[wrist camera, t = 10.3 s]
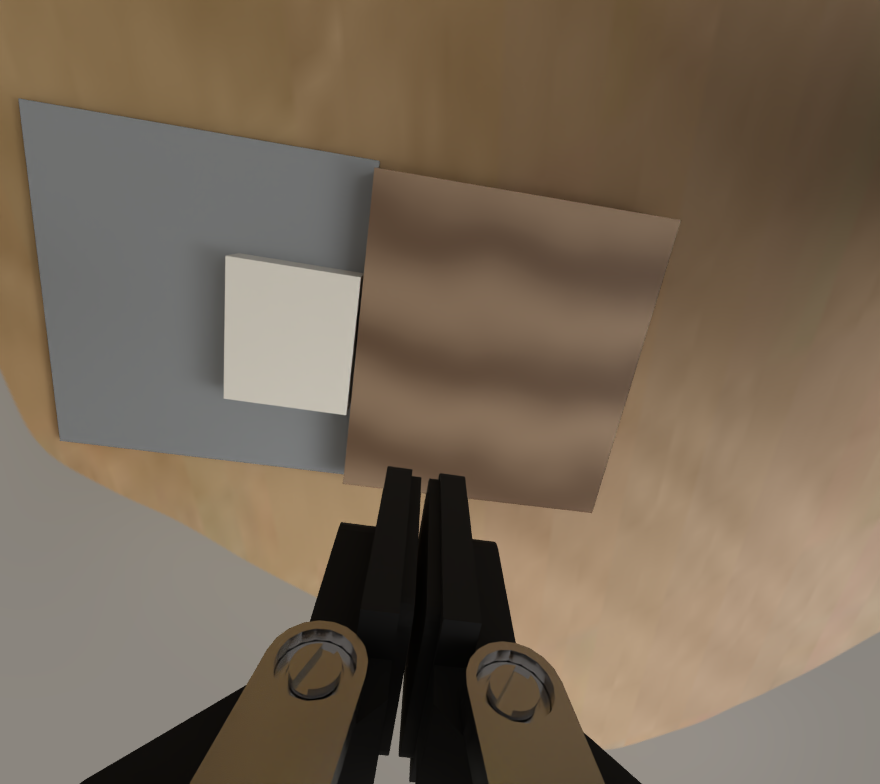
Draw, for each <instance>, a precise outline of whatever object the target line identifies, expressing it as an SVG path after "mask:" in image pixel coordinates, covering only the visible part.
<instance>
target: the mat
mask: <svg viewBox="0 0 880 784" xmlns="http://www.w3.org/2000/svg"><path fill="white" fill-rule="evenodd" d="M18 99H19V98H18ZM19 107H20V115H21V124H22V132H23V140H24V148H25V156H26V165H27V173H28V181H29V189H30V198H31V206H32V214H33V222H34V230H35V239H36V247H37V255H38V263H39V272H40V280H41V288H42V296H43V304H44V313H45V321H46V329H47V337H48V346H49V354H50V362H51V370H52V378H53V387H54V395H55V403H56V411H57V420H58V428H59V436H60V441H67V442H75V443H84V444H92V445H101V446H109V447H118V448H126V449H135V450H143V451H151V452H160V453H168V454H177V455H185V456H194V457H202V458H210V459H219V460H227V461H236V462H244V463H253V464H261V465H270V466H278V467H286V468H295V469H303V470H312V471H320V472H329V473H337V474H344V469H345V458H346V448H347V438H348V428H349V418H350V408H351V404H350V407H349V409H348V412H347V414H346V415H340V414H333V413H326V412H318V411H311V410H304V409H296V408H289V407H282V406H274V405H267V404H260V403H252V402H245V401H238V400H230V399H224V330H225V256H227V255H232V254H237V253H242V254H248V255H254V256H260V257H267V258H273V259H279V260H285V261H291V262H298V263H304V264H310V265H316V266H322V267H328V268H335V269H341V270H347V271H353V272H359V273H364V267H365V257H366V247H367V237H368V227H369V217H370V207H371V197H372V187H373V177H374V167H375V168H379V165H380V161H377V160H371V159H365V158H360V157H354V156H348V155H342V154H336V153H331V152H325V151H319V150H313V149H308V148H302V147H296V146H290V145H284V144H279V143H273V142H267V141H261V140H256V139H250V138H244V137H238V136H233V135H227V134H221V133H215V132H209V131H204V130H198V129H192V128H186V127H181V126H175V125H169V124H163V123H157V122H152V121H146V120H140V119H134V118H129V117H123V116H117V115H111V114H105V113H100V112H94V111H88V110H82V109H77V108H71V107H65V106H59V105H54V104H48V103H42V102H36V101H30V100H25V99H19Z"/></svg>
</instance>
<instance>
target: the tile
mask: <svg viewBox="0 0 880 784" xmlns="http://www.w3.org/2000/svg"><path fill="white" fill-rule="evenodd" d="M363 277H364V273H359V272H353V271H347V270H341V269H335V268H328V267H322V266H316V265H310V264H304V263H298V262H291V261H285V260H279V259H273V258H267V257H260V256H254V255H248V254H242V253H237V254H232V255H227V256H225V330H224V399H230V400H238V401H245V402H252V403H260V404H267V405H274V406H282V407H289V408H296V409H304V410H311V411H318V412H326V413H333V414H340V415H346V414H347V412H348V409H349V407H350V404H351V398H352V388H353V378H354V368H355V358H356V348H357V338H358V328H359V317H360V307H361V297H362V287H363Z"/></svg>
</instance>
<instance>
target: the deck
mask: <svg viewBox="0 0 880 784" xmlns="http://www.w3.org/2000/svg"><path fill="white" fill-rule="evenodd" d="M680 223H681V220H678V219H672V218H666V217H660V216H655V215H649V214H643V213H637V212H631V211H625V210H620V209H614V208H608V207H602V206H596V205H591V204H585V203H579V202H573V201H567V200H561V199H556V198H550V197H544V196H538V195H532V194H527V193H521V192H515V191H509V190H503V189H497V188H492V187H486V186H480V185H474V184H468V183H463V182H457V181H451V180H445V179H439V178H434V177H428V176H422V175H416V174H410V173H404V172H399V171H393V170H387V169H381V168H375V167H374V177H373V187H372V197H371V207H370V217H369V227H368V237H367V247H366V257H365V267H364V277H363V287H362V297H361V307H360V317H359V328H358V338H357V348H356V358H355V368H354V378H353V388H352V398H351V408H350V418H349V428H348V438H347V448H346V458H345V469H344V479H343V484H348V485H357V486H366V487H374V488H384V483H385V477H386V472H387V467H388V466H392V467H400V468H407V469H413V470H412V476H416V477H421V493H425V494H426V492H427V486H428V481H429V478H431V479H438V477H439V474H440V473H444V474H451V475H458V476H465V480H466V489H467V497H468V499H477V500H485V501H494V502H502V503H511V504H520V505H528V506H537V507H545V508H554V509H562V510H571V511H579V512H588V513H592V511H593V508H594V505H595V502H596V498H597V495H598V492H599V488H600V485H601V482H602V479H603V475H604V472H605V469H606V465H607V462H608V459H609V456H610V452H611V449H612V446H613V443H614V439H615V436H616V433H617V429H618V426H619V423H620V420H621V416H622V413H623V410H624V406H625V403H626V400H627V397H628V393H629V390H630V387H631V383H632V380H633V377H634V374H635V370H636V367H637V364H638V360H639V357H640V354H641V351H642V347H643V344H644V341H645V337H646V334H647V331H648V328H649V324H650V321H651V318H652V314H653V311H654V308H655V305H656V301H657V298H658V295H659V291H660V288H661V285H662V282H663V278H664V275H665V272H666V268H667V265H668V262H669V259H670V255H671V252H672V249H673V246H674V242H675V239H676V236H677V232H678V229H679V226H680Z"/></svg>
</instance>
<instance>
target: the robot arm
mask: <svg viewBox="0 0 880 784" xmlns="http://www.w3.org/2000/svg"><path fill="white" fill-rule="evenodd" d="M412 470H413V469H407V468H400V467H392V466H388V467H387V472H386V477H385V483H384V488H383V493H382V498H381V504H380V509H379V514H378V519H377V525H376V527H374V526H366V525H359V524H351V523H343V522H341V524H340V526H339V529H338V532H337V535H336V538H335V542H334V545H333V548H332V551H331V555H330V558H329V561H328V564H327V568H326V571H325V574H324V577H323V581H322V584H321V587H320V590H319V593H318V597H317V600H316V603H315V606H314V610H313V613H312V616H311V620H310V622H304V623H302V624H299V625H297V626H294V627H292V628H289V629H288V630H286V631H285V632H284V633H282V634H281V635H279V636H278V637H277V638H276V639H275V640H274V641H273V643H272V644H271V645H270V646H269V648H268V649H267V651H266V652H265V654H264V656H263V657H262V659H261V661H260V663H259V665H258V666H257V668H256V670H255V671H254V673H253V675H252V676H251V678H250V680H249V682H248V683H247V685H246V686H244V687H242V688H240V689H239V690H237V691H235V692H234V693H232V694H230V695H229V696H227V697H225V698H223V699H222V700H220V701H218V702H217V703H215V704H213V705H212V706H210V707H208V708H207V709H205V710H203V711H201V712H200V713H198V714H196V715H195V716H193V717H191V718H189V719H188V720H186V721H184V722H183V723H181V724H179V725H177V726H176V727H174V728H173V729H171V730H169V731H167V732H166V733H164V734H162V735H160V736H159V737H157V738H155V739H154V740H152V741H150V742H149V743H147V744H145V745H143V746H142V747H140V748H138V749H137V750H135V751H133V752H131V753H130V754H128V755H126V756H125V757H123V758H121V759H120V760H118V761H116V762H115V763H113V764H111V765H109V766H108V767H106V768H104V769H103V770H101V771H99V772H97V773H96V774H94V775H92V776H91V777H89V778H87V779H86V780H84V781H83V782H81V783H80V784H373V783H374V778H375V772H376V766H377V760H378V755H389V751H390V746H391V740H392V735H393V729H394V724H395V719H396V713H397V708H398V702H399V697H400V691H401V685H402V679H403V675H404V682H403V697H402V711H401V727H400V741H399V757H407V758H410V777H409V781H410V782H416V783H415V784H641V783H640V782H639V781H638V780H637V779H636V778H635V777H633V776H632V775H631V774H630V773H629V772H628V771H627V770H626V769H624V768H623V767H622V766H621V765H620V764H619V763H618V762H617V761H615V760H614V759H613V758H612V757H611V756H610V755H609V754H607V753H606V752H605V751H604V750H603V749H602V748H601V747H600V746H598V745H597V744H596V743H595V742H594V741H593V740H592V739H591V738H589V737H588V736H587V735H586V734H585V733H584V732H583V731H582V728H581V726H580V724H579V721H578V719H577V716H576V714H575V712H574V709H573V707H572V705H571V702H570V700H569V698H568V695H567V693H566V690H565V688H564V686H563V683H562V681H561V680H560V678H559V676H558V675H557V673H556V671H555V669H554V668H553V667H552V666H551V665H550V664H549V663H548V662H547V661H546V660H545V659H544V658H543V657H542V656H541V655H539V654H538V653H536V652H535V651H533V650H532V649H530V648H527V647H525V646H522V645H520V644H517V643H516V642H515V637H514V632H513V626H512V621H511V616H510V610H509V605H508V600H507V594H506V589H505V584H504V578H503V573H502V568H501V562H500V557H499V552H498V547H497V544H496V543H495V542H491V541H483V540H476V539H472V533H471V524H470V515H469V506H468V497H467V489H466V480H465V476H458V475H451V474H444V473H440V474H439V477H438V479H431V478H429V481H428V486H427V492H426V498H425V503H424V509H423V515H422V521H421V526H420V532H419V516H420V498H421V477H416V476H412ZM418 535H419V538H418Z"/></svg>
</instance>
